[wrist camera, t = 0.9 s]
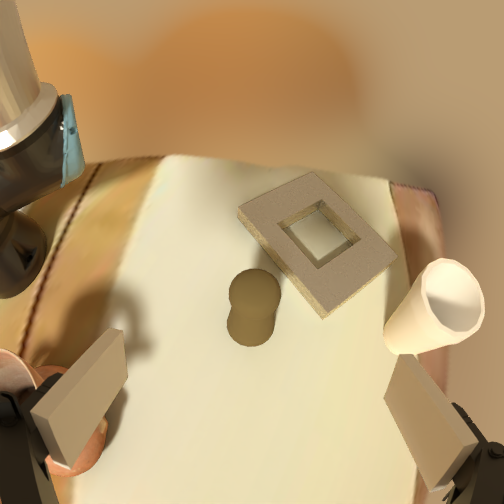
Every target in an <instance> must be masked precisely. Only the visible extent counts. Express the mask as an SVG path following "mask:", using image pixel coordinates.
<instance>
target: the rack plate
mask: <svg viewBox="0 0 504 504" xmlns="http://www.w3.org/2000/svg"><path fill="white" fill-rule="evenodd" d="M318 209H319V210H320V211H321V212H322V213H323V214H324V215H325V216H326V217H327V218H328V219H329V220H330V222H331V223H332V224H333V225H334V226H335V227H336V228H337V229H338V230H339V231H340V232H341V233H342V234H343V235H344V236H345V237H346V238H347V239H348V240H349V241H350V242H351V243H352V244H353V246H351V247H350V248H348V249H347V250H345V251H344V252H343V253H341V254H340V255H338V256H337V257H335V258H334V259H332V260H331V261H329V262H328V263H326V264H325V265H324V266H322V267H321V268H319V269H317V268H316V267H315V266H314V265H313V263H312V262H311V261H310V260H309V259H308V258H307V257H306V256H305V254H304V253H303V252H302V251H301V250H300V249H299V248H298V246H297V245H296V244H295V243H294V242H293V241H292V240H291V239H290V238H289V236H288V235H287V234H286V233H285V232H284V231H283V230H282V229H284V228H286V227H288V226H289V225H291V224H293V223H295V222H296V221H298V220H300V219H302V218H304V217H305V216H307V215H309V214H311V213H313V212H314V211H316V210H318ZM238 219H239V220H240V221H241V222H242V224H243V225H244V226H245V227H246V228H247V230H248V231H249V232H250V233H251V234H252V235H253V237H254V238H255V239H256V240H257V241H258V243H259V244H260V245H261V246H262V247H263V249H264V250H265V251H266V252H267V253H268V255H269V256H270V257H271V258H272V259H273V261H274V262H275V263H276V264H277V265H278V267H279V268H280V269H281V270H282V271H283V273H284V274H285V275H286V276H287V278H288V279H289V280H290V281H291V282H292V284H293V285H294V286H295V287H296V288H297V290H298V291H299V292H300V293H301V294H302V296H303V297H304V298H305V299H306V300H307V302H308V303H309V304H310V305H311V307H312V308H313V309H314V310H315V311H316V313H317V314H318V315H319V316H320V317H321V319H322V320H324V319H325V318H326V317H328V316H329V315H330V314H332V313H333V312H334V311H335V310H337V309H338V308H339V307H341V306H342V305H343V304H344V303H346V302H347V301H348V300H349V299H351V298H352V297H353V296H355V295H356V294H357V293H358V292H360V291H361V290H362V289H363V288H364V287H366V286H367V285H368V284H369V283H371V282H372V281H373V280H374V279H375V278H377V277H378V276H379V275H380V274H381V273H382V272H384V271H385V270H386V269H387V268H388V267H390V266H391V265H392V264H393V262H394V261H395V260H396V259H397V257H398V255H397V254H396V253H395V252H394V251H393V250H392V249H391V248H390V247H389V246H388V245H387V244H386V243H385V242H384V240H383V239H382V238H381V237H380V236H379V235H378V234H377V233H376V232H375V231H374V230H373V229H372V228H371V227H370V226H369V225H368V224H367V223H366V222H365V221H364V220H363V219H362V218H361V217H360V216H359V215H358V214H357V213H356V212H355V211H354V210H353V209H352V208H351V207H350V206H349V205H348V204H347V203H346V202H345V201H344V200H343V199H341V198H340V197H339V196H338V195H337V194H336V193H335V192H334V191H333V190H332V189H331V188H330V187H329V186H328V185H327V184H325V183H324V182H323V181H322V180H321V179H320V178H319V177H318V176H317V175H316V174H314V173H313V172H311V173H309V174H306V175H304V176H302V177H300V178H298V179H296V180H293V181H291V182H289V183H287V184H285V185H283V186H281V187H279V188H276V189H274V190H272V191H270V192H268V193H266V194H264V195H262V196H260V197H258V198H256V199H254V200H252V201H249V202H247V203H245V204H243V205H241V206H239V207H238Z"/></svg>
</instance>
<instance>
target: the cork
mask: <svg viewBox="0 0 504 504" xmlns="http://www.w3.org/2000/svg"><path fill="white" fill-rule="evenodd" d="M280 299H281V289H280V286H279V283H278V281H277V280H276V278H275V277H274V276H273V275H272V274H270V273H269V272H267V271H265V270H261V269H248V270H245V271H242V272H241V273H239V274H238V275H237V276H236V277H235V278H234V279H233V281H232V282H231V285H230V288H229V300H230V303H231V306H232V307H231V310H230V313H229V316H228V319H227V329H228V332H229V334H230V336H231V337H232V338H233V340H234V341H236V342H237V343H239V344H241V345H244V346H247V347H251V346H258V345H261V344H263V343H265V342H266V341H267V340H268V339H269V338H270V337H271V335H272V334H273V330H274V311H275V310H276V308H277V307H278V305H279V302H280Z"/></svg>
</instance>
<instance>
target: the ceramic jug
mask: <svg viewBox="0 0 504 504" xmlns="http://www.w3.org/2000/svg"><path fill="white" fill-rule="evenodd" d="M67 370H68V369H67V368H65V367H61V366H57V365H45V366H40V367H37V368H35V369H33V367H31V366H30V365H29V364H28V363H27V362H26V361H25V360H24V359H22V358H21V357H19V356H18V355H16V354H15V353H13V352H11V351H9V350H6V349H0V391H8V392H11V393H13V394H14V395H15V396H16V398H17V401H18V403H19V406H20V405H21V404H22V403H23V402H24V401H25V400H26V399H27V398H28V397H29V396H30V395H31V394H32V393H33V392H34V391H36V389H37V388H38V387H39V386H41V384H42V383H43V382H44V381H45V380H46V379H47V377H49V376H51V375H53V374H55V373H57V372H59V373H62V374H65V373H66V372H67ZM107 428H108V422H107V420H106V418H105V415H104V416H103V418H102V419H101V421H100V423H99V424H98V426H97V427H96V429H95V431H94V432H93V434H92V436H91V437H90V439H89V440H88V442H87V444H86V445H85V447H84V449H83V450H82V452H81V454H80V455H79V457H78V459H77V460H76V462H75V464H74V465H73V467H72V469H71V470H69V469H66V468H64V467H62V466H59V465H57V464H55V463H54V462H53V460H52V458H51V457H50V455H48V456H47V457H46V459H45V461H46V463H47V465H48V469H49V473H51V474H54V475H57V476H64V477H71V476H76V475H79V474H81V473H84V472H86V471H87V470H89V469H90V468H92V467H93V465H94V464H95V463H96V462H97V461H98V459H99V458H100V456H101V454H102V451H103V449H104V445H105V439H106V432H107Z"/></svg>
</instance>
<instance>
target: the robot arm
mask: <svg viewBox="0 0 504 504" xmlns="http://www.w3.org/2000/svg"><path fill="white" fill-rule="evenodd" d="M84 169H85V161H84V157H83V152H82V148H81V143H80V139H79V134H78V129H77V124H76V119H75V113H74V108H73V102H72V96H71V95H70V94H66V95H61V96H60V97H59V96H58V93H57V90H56V89H55V87H54V86H53V85H51V84H49V83H44V82H40V81H39V78H38V75H37V73H36V70H35V67H34V64H33V61H32V58H31V55H30V52H29V49H28V46H27V43H26V39H25V36H24V33H23V29H22V25H21V22H20V18H19V14H18V10H17V6H16V2H15V0H0V298H1V299H6V298H11V297H14V296H16V295H18V294H19V293H21V292H22V291H23V290H25V289H26V288H27V287H28V286H29V285H30V284H31V282H32V281H33V280H34V278H35V277H36V276H37V274H38V272H39V270H40V268H41V266H42V264H43V261H44V258H45V254H46V238H45V235H44V232H43V231H42V229H41V228H40V227H39V225H38V224H37V223H36V222H35V221H34V220H33V219H31V218H30V217H28V216H26V215H25V214H23V213H21V212H20V211H18V209H20V208H22V207H24V206H26V205H28V204H30V203H31V202H33V201H35V200H37V199H39V198H41V197H43V196H45V195H47V194H49V193H51V192H53V191H55V190H57V189H59V188H63V187H64V185H66V184H68V183H69V182H71V181H73V180H75V179H76V178H78V177H79V176H81V174H82V173H83V171H84ZM127 378H128V373H127V365H126V357H125V348H124V337H123V331H122V330H117V329H112V328H108V329H107V330H106V331H105V332H104V333H103V334H102V335H101V336H100V337H99V338H98V339H97V340H96V341H95V342H94V343H93V344H92V345H91V346H90V347H89V348H88V350H87V351H86V352H85V353H84V354H83V355H82V356H81V357H80V358H79V359H78V360H77V361H76V362H75V363H74V364H73V365H72V366H71V367H70V368H69V369H68V370H67V372H66V373H65V374H62V373H59V372H57V373H55V374H53V375H51V376H49V377H47V379H46V380H45V381H44V382H43V383H42V384H41V386H39V387H38V388H37V389H36V391H34V392H33V393H32V394H31V395H30V396H29V397H28V398H27V399H26V400H25V401H24V402H23V403H22V404H21V405H20V406H19V403H18V401H17V398H16V396H15V395H14V394H13V393H11V392H8V391H0V496H1V502H2V504H59V502H58V499H57V496H56V493H55V490H54V487H53V483H52V480H51V476H50V473H49V469H48V465H47V463H46V461H45V459H46V457H47V456H48V455H50V457H51V458H52V460H53V462H54V463H55V464H57V465H59V466H62V467H64V468H66V469H69V470H71V469H72V467H73V465H74V464H75V462H76V460H77V459H78V457H79V455H80V454H81V452H82V450H83V449H84V447H85V445H86V444H87V442H88V440H89V439H90V437H91V436H92V434H93V432H94V431H95V429H96V427H97V426H98V424H99V423H100V421H101V419H102V418H103V416H104V415H105V413H106V411H107V410H108V408H109V407H110V405H111V403H112V402H113V400H114V399H115V397H116V396H117V394H118V392H119V391H120V389H121V388H122V386H123V385H124V383H125V382H126V380H127ZM384 400H385V402H386V404H387V406H388V408H389V410H390V412H391V414H392V416H393V418H394V420H395V422H396V424H397V426H398V428H399V430H400V432H401V434H402V436H403V438H404V440H405V442H406V444H407V446H408V448H409V450H410V452H411V454H412V456H413V458H414V461H415V463H416V465H417V467H418V469H419V471H420V473H421V475H422V478H423V480H424V482H425V484H426V486H427V488H428V491H429V493H431V492H434V491H438V490H441V489H444V488H445V487H446V486H447V485H448V484H449V482H450V481H451V480H453V482H454V483H455V485H454V486H453V487H452V489H451V490H450V491H449V492H448V493H447V495H446V496H445V497H444V498H443V500H442V501H445V500H446V499H447V497H448V500H447V503H446V504H504V446H503V445H502V444H500V443H497V442H489V443H488V442H487V440H486V439H485V437H484V436H483V435H482V433H481V432H480V431H479V429H478V428H477V426H476V425H475V424H474V423H472V422H473V421H472V420H471V418H470V417H468V415H467V413H466V412H465V411H464V409H463V408H461V407H460V406H458V405H457V404H456V403H450V401H449V400H448V399H447V397H446V396H445V395H444V394H443V392H442V391H441V390H440V388H439V387H438V386H437V384H436V383H435V382H434V381H433V379H432V378H431V377H430V375H429V374H428V373H427V372H426V370H425V369H424V368H423V367H422V365H421V364H420V363H419V362H418V360H417V359H416V358H415V357H414V355H413V354H399V356H398V359H397V362H396V365H395V368H394V371H393V374H392V377H391V380H390V382H389V385H388V388H387V391H386V393H385V396H384Z"/></svg>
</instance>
